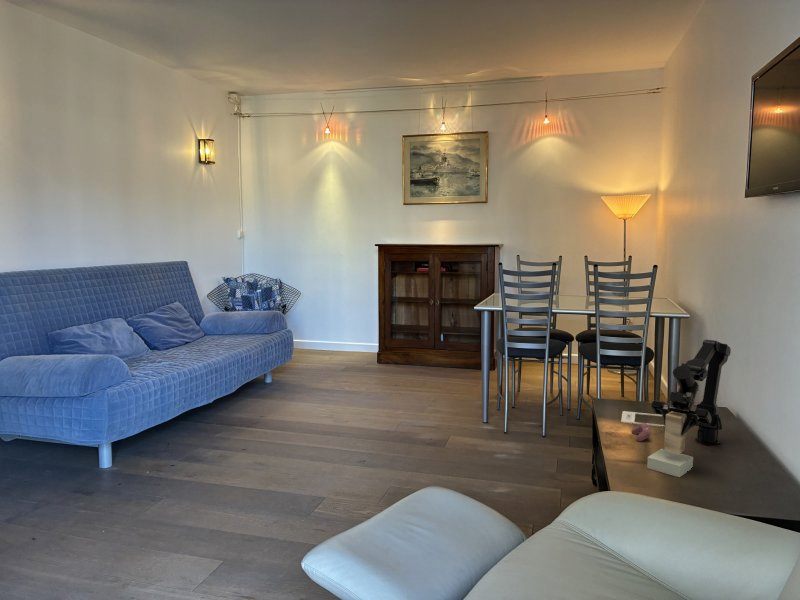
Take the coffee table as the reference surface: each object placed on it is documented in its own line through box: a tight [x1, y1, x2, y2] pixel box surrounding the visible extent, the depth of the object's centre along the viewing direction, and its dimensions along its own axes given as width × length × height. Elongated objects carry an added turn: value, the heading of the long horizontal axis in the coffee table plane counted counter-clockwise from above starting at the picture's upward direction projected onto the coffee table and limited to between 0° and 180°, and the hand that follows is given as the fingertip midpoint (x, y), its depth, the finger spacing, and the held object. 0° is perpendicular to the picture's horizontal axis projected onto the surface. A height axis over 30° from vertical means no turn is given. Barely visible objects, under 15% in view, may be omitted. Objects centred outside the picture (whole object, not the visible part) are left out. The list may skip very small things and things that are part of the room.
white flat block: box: [646, 448, 694, 478], centre depth 200 cm, size 11×11×4 cm
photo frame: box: [620, 410, 665, 428], centre depth 250 cm, size 15×1×18 cm
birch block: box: [663, 411, 687, 454], centre depth 197 cm, size 5×5×13 cm
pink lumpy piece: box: [631, 421, 652, 442], centre depth 229 cm, size 10×5×7 cm, turn 169°
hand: (673, 432), depth 196 cm, fingers closed on birch block, 5 cm apart
